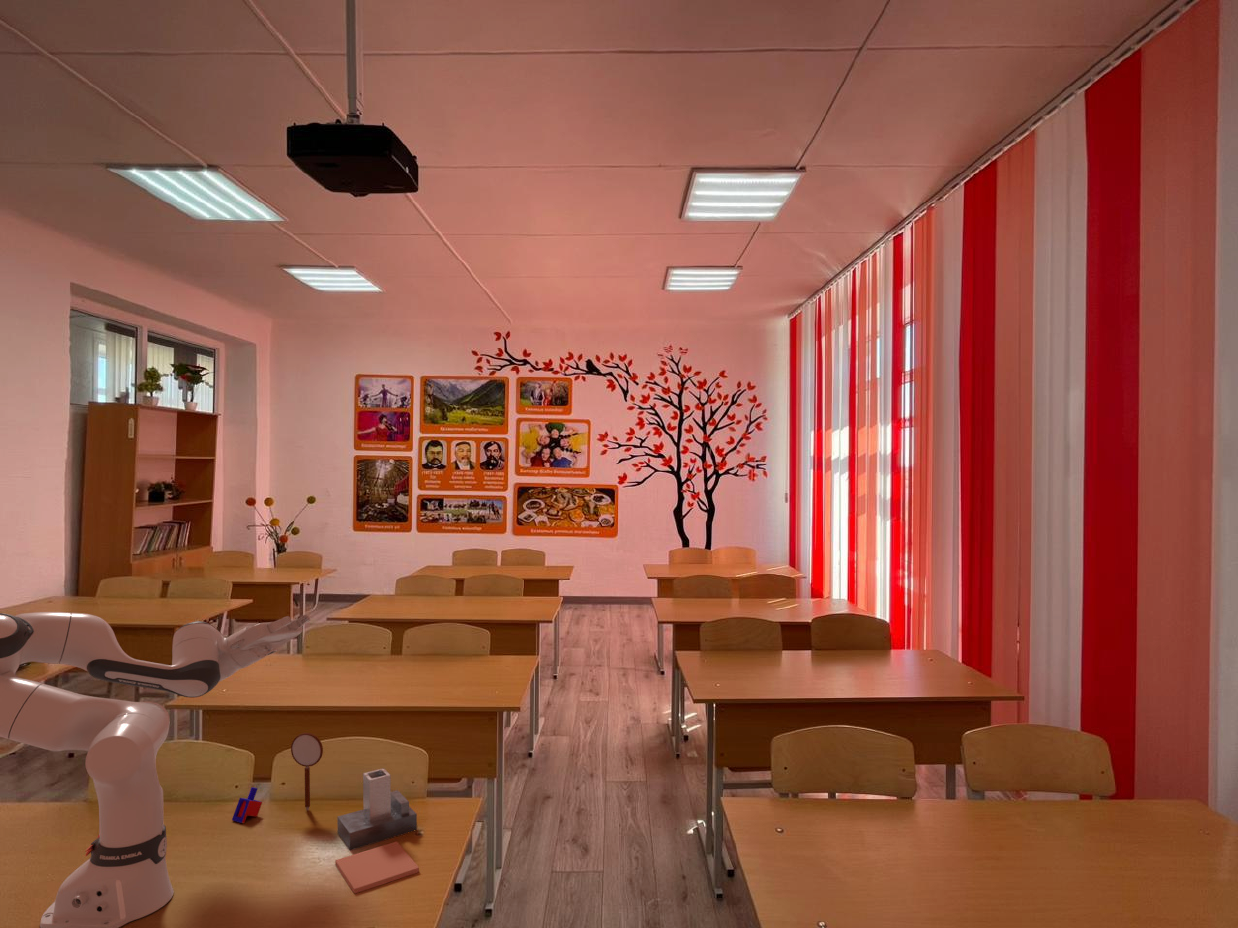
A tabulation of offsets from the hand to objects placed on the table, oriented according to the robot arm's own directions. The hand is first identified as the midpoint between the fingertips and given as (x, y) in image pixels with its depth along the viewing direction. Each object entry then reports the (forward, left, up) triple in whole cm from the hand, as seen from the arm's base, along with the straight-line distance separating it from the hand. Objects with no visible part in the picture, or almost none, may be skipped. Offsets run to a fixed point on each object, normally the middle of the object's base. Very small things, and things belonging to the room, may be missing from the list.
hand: (299, 618), depth 190 cm
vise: (+20, -7, -51) cm, 55 cm away
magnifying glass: (0, +7, -51) cm, 52 cm away
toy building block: (-14, +5, -51) cm, 53 cm away
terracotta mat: (+23, -24, -51) cm, 61 cm away
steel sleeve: (+20, -7, -47) cm, 52 cm away
